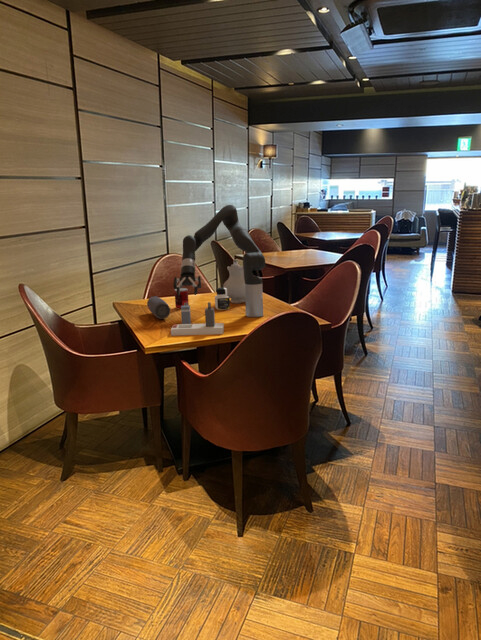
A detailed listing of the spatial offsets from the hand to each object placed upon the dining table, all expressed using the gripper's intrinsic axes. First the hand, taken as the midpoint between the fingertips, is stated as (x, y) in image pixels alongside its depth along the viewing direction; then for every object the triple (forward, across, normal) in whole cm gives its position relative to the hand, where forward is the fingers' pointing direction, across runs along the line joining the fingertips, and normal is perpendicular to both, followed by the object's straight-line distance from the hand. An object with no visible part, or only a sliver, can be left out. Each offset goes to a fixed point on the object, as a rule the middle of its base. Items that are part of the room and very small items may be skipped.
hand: (186, 294), depth 248 cm
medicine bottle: (-9, -16, -29) cm, 35 cm away
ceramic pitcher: (-24, -25, -44) cm, 56 cm away
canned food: (-13, +8, -33) cm, 37 cm away
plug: (+18, 0, -2) cm, 18 cm away
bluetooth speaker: (+2, +18, -18) cm, 26 cm away
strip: (+27, -8, +8) cm, 29 cm away
